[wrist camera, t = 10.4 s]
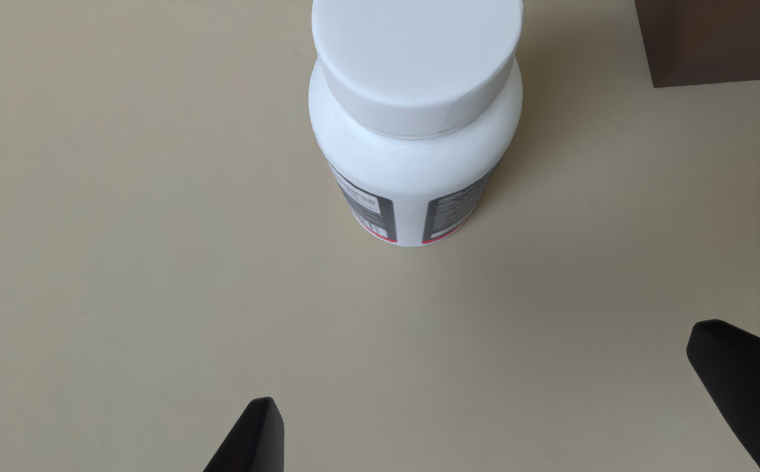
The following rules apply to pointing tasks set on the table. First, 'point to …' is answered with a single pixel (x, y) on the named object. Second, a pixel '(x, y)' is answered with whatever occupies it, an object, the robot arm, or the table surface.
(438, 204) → the pill bottle
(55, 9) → the table surface
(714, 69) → the walnut block
